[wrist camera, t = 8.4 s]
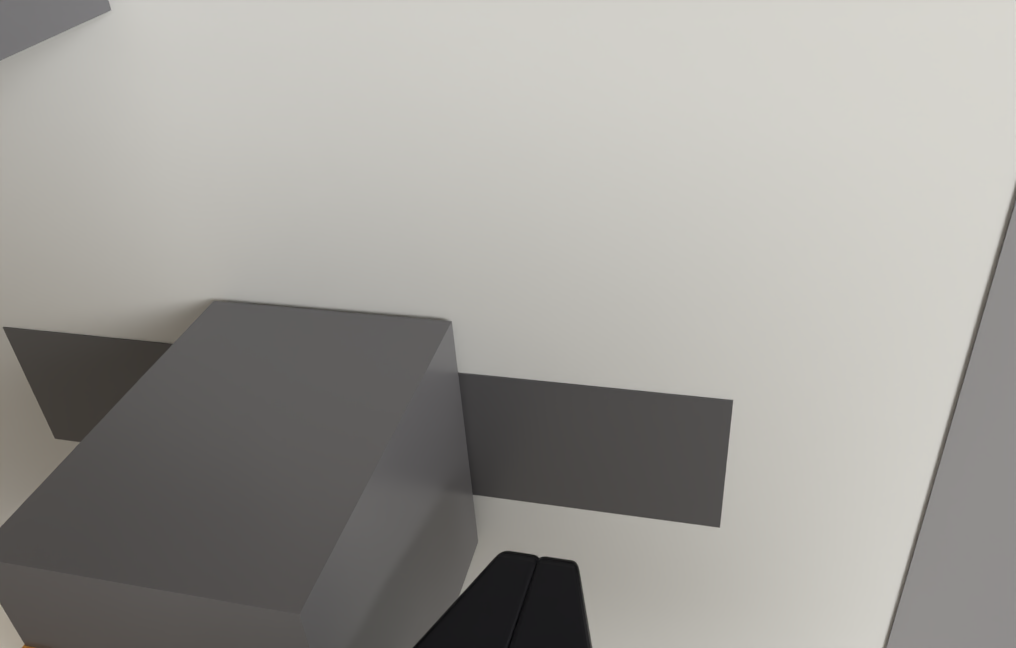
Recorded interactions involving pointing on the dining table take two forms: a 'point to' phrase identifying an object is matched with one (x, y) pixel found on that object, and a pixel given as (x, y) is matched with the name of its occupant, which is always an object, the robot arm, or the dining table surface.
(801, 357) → the panel
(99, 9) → the block
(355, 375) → the block
